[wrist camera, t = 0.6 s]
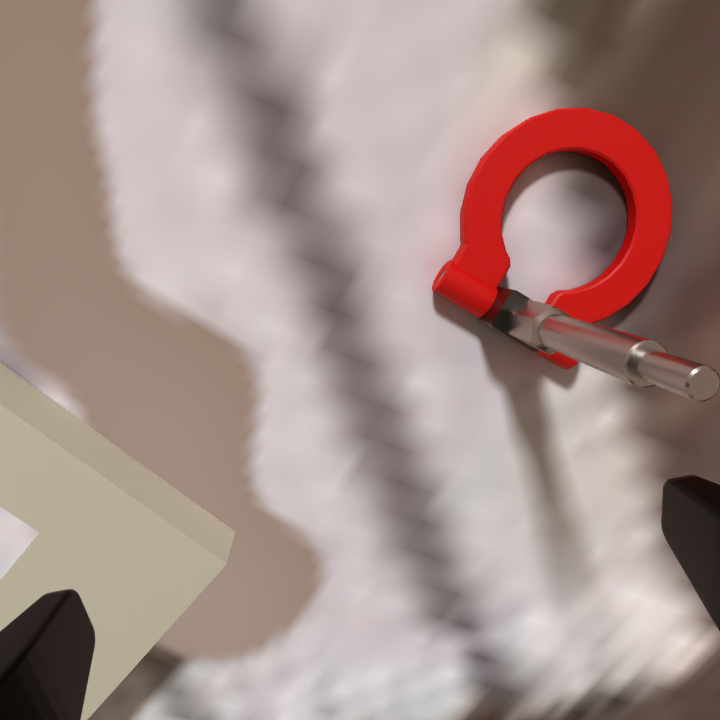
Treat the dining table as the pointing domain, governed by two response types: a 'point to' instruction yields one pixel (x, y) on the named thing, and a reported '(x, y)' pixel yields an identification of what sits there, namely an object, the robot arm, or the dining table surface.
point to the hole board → (99, 533)
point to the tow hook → (597, 298)
